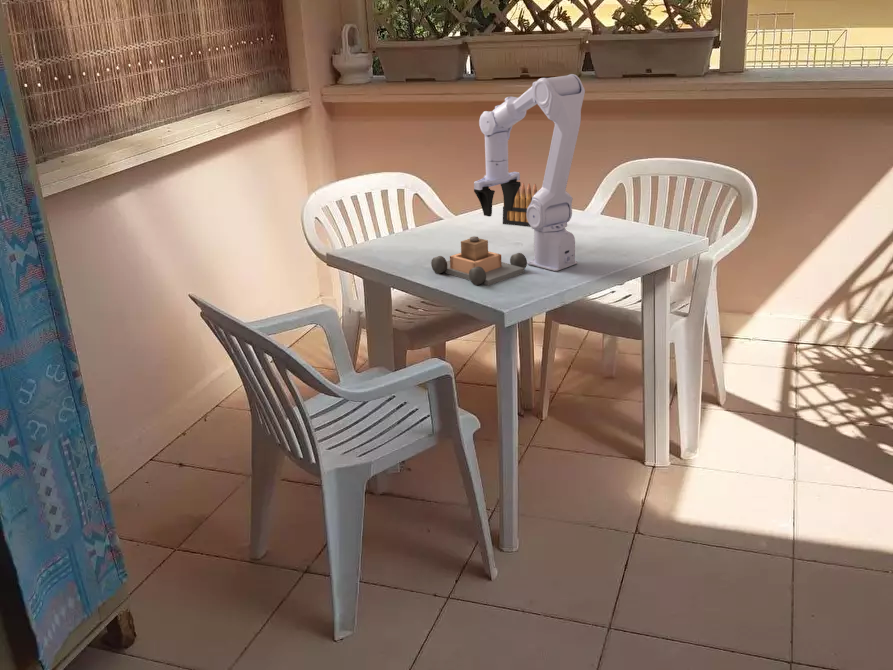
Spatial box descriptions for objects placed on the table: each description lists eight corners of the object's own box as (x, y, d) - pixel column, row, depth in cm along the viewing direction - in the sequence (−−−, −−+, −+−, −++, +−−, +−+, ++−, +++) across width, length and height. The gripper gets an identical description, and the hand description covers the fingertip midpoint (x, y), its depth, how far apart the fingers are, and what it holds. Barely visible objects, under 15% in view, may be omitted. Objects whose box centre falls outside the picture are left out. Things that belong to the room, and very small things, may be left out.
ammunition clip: (502, 224, 249) (501, 182, 245) (505, 222, 251) (504, 180, 246) (537, 227, 244) (536, 184, 240) (539, 225, 246) (539, 183, 241)
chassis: (528, 271, 209) (528, 254, 207) (482, 287, 199) (482, 269, 198) (475, 256, 221) (475, 240, 219) (430, 271, 212) (429, 254, 210)
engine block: (488, 266, 209) (487, 237, 206) (475, 271, 206) (474, 241, 204) (474, 263, 212) (473, 234, 209) (461, 267, 209) (460, 238, 207)
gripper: (505, 153, 228) (506, 204, 233) (464, 162, 219) (466, 216, 224) (525, 156, 223) (526, 208, 228) (484, 165, 214) (486, 220, 219)
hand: (498, 212), depth 225 cm, fingers open, 7 cm apart
